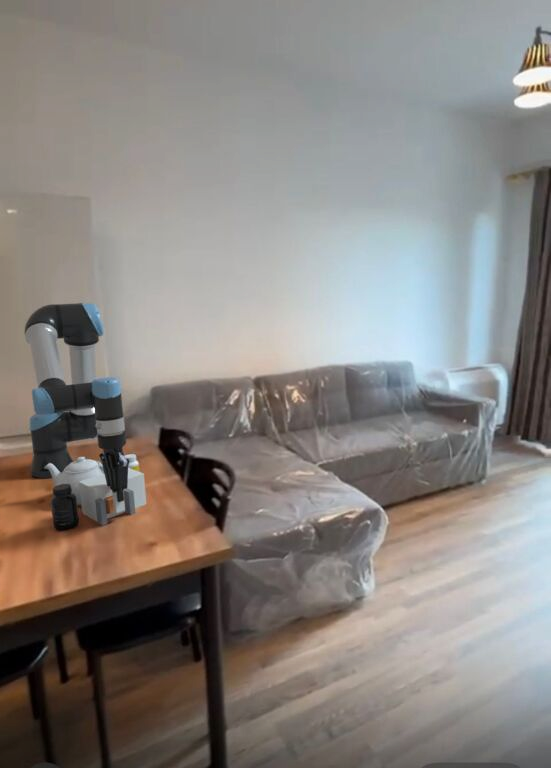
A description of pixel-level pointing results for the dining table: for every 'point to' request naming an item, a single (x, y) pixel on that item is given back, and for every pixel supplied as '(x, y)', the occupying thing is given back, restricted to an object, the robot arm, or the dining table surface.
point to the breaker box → (98, 490)
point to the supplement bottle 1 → (64, 508)
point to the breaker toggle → (109, 504)
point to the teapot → (76, 474)
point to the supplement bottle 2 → (132, 462)
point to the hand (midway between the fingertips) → (119, 511)
